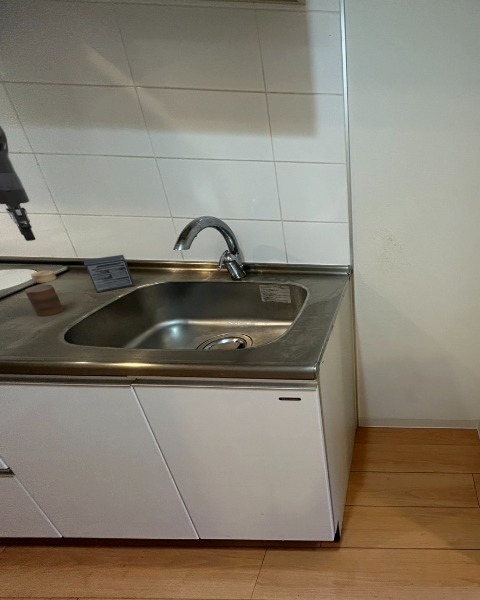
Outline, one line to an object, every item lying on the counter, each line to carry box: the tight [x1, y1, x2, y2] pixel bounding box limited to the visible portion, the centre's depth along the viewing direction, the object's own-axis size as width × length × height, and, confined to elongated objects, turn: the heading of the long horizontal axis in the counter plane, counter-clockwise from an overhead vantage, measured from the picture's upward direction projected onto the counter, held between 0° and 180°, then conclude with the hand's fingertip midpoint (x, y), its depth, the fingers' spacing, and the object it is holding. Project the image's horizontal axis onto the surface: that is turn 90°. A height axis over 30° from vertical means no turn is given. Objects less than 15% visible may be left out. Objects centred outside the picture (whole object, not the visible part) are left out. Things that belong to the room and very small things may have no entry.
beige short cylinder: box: [30, 269, 57, 284], centre depth 111 cm, size 6×6×3 cm
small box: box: [83, 254, 136, 293], centre depth 108 cm, size 11×6×10 cm, turn 134°
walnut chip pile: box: [24, 284, 64, 317], centre depth 91 cm, size 6×6×8 cm
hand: (28, 237), depth 104 cm, fingers open, 8 cm apart
